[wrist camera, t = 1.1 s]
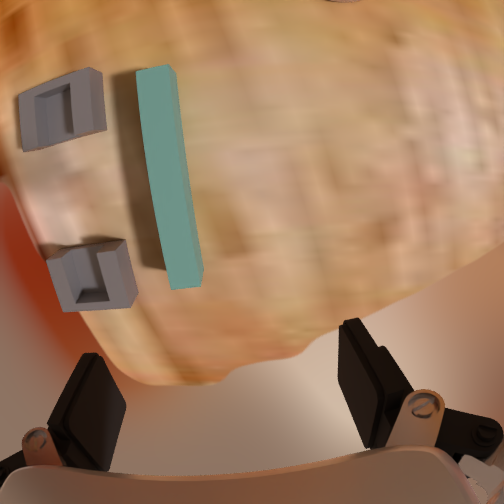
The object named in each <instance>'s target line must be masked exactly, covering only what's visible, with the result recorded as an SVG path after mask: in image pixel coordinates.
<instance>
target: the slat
mask: <svg viewBox="0 0 504 504" xmlns="http://www.w3.org/2000/svg"><path fill="white" fill-rule="evenodd" d="M136 81H137V92H138V102H139V111H140V120H141V128H142V136H143V143H144V150H145V157H146V164H147V170H148V177H149V183H150V189H151V195H152V200H153V206H154V211H155V217H156V222H157V227H158V232H159V237H160V242H161V247H162V252H163V256H164V261H165V265H166V270H167V274H168V279H169V283H170V287H171V290H175V289H183V288H192V287H201V282H202V277H203V271H204V267H203V262H202V256H201V250H200V245H199V239H198V233H197V227H196V221H195V214H194V208H193V202H192V195H191V188H190V182H189V175H188V168H187V161H186V153H185V146H184V138H183V130H182V122H181V114H180V105H179V96H178V87H177V77H176V73H175V72H174V70H173V69H172V68H171V67H170V66H169V64H167V65H162V66H157V67H153V68H148V69H144V70H139V71H136Z"/></svg>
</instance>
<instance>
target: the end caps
mask: <svg viewBox="0 0 504 504" xmlns="http://www.w3.org/2000/svg"><path fill="white" fill-rule="evenodd" d="M19 115H20V128H21V139H22V148H23V152H29V151H35V150H41V149H44V148H47V147H50V146H53V145H56V144H59V143H63V142H66V141H69V140H73V139H76V138H80V137H83V136H87V135H91V134H94V133H98V132H102V131H106V130H107V125H106V115H105V105H104V92H103V77H102V73H101V72H99V71H97V70H95V69H93V68H90V67H87V68H84V69H81V70H78V71H75V72H73V73H70V74H67V75H64V76H62V77H59V78H56V79H54V80H51V81H49V82H46V83H44V84H41V85H39V86H37V87H34V88H32V89H30V90H28V91H25V92H23V93H21V94H19ZM46 263H47V266H48V269H49V272H50V275H51V278H52V282H53V285H54V288H55V290H56V293H57V296H58V299H59V302H60V304H61V307H62V310H63V312H75V311H92V310H107V309H121V308H131V306H132V304H133V302H134V300H135V298H136V297H137V295H138V289H137V285H136V281H135V277H134V274H133V270H132V265H131V261H130V257H129V253H128V249H127V244H126V240H119V241H112V242H105V243H98V244H91V245H85V246H78V247H72V248H65V249H60V250H58V251H57V252H56V253H54V254H53V255H52V256H51V257H49V258H48V259H47V260H46Z"/></svg>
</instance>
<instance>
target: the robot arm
mask: <svg viewBox="0 0 504 504" xmlns="http://www.w3.org/2000/svg"><path fill="white" fill-rule="evenodd" d="M330 1H336V2H355V1H360V0H330ZM338 350H339V351H338V382H339V385H340V388H341V390H342V392H343V395H344V397H345V400H346V402H347V405H348V407H349V410H350V412H351V415H352V417H353V420H354V422H355V424H356V427H357V430H358V432H359V435H360V437H361V440H362V442H363V445H364V447H365V448H366V449H367V448H370V450H367V451H363V452H359V453H354V454H349V455H345V456H341V457H336V458H332V459H327V460H322V461H318V462H312V463H307V464H301V465H296V466H290V467H284V468H278V469H271V470H263V471H255V472H245V473H234V474H220V475H200V476H158V475H137V474H122V473H111V472H107V471H109V469H110V465H111V461H112V457H113V454H114V450H115V446H116V442H117V439H118V435H119V432H120V428H121V425H122V421H123V418H124V414H125V411H126V402H125V400H124V398H123V396H122V394H121V393H120V391H119V389H118V387H117V385H116V383H115V381H114V379H113V377H112V376H111V374H110V372H109V370H108V368H107V366H106V364H105V361H104V359H103V358H102V357H101V356H99V355H98V354H97V353H84V354H83V355H82V356H81V358H80V360H79V362H78V363H77V365H76V367H75V369H74V371H73V373H72V374H71V376H70V378H69V380H68V382H67V384H66V386H65V388H64V390H63V392H62V394H61V395H60V397H59V399H58V402H57V404H56V405H55V407H54V410H53V412H52V414H51V416H50V418H49V420H48V422H47V424H48V426H49V427H48V429H45V428H43V427H36V428H33V429H31V430H29V431H28V432H27V433H26V434H25V435H24V437H23V439H22V450H21V451H19V452H17V453H15V454H13V455H12V456H10V457H8V458H6V459H4V460H3V461H1V462H0V504H481V503H480V501H479V499H478V497H477V496H476V494H475V492H474V490H473V488H472V486H471V484H470V482H469V481H468V479H467V478H473V479H474V480H476V481H477V483H476V484H477V485H479V486H481V487H482V488H483V489H484V490H485V491H486V493H487V495H488V500H487V503H486V504H504V434H503V430H502V427H501V426H500V424H499V423H498V422H497V421H495V420H493V419H491V418H487V417H482V416H478V415H473V414H469V413H465V412H460V411H456V410H452V409H448V408H445V403H444V400H443V398H442V397H441V396H440V395H439V394H438V393H436V392H434V391H431V390H426V389H421V390H416V391H414V389H413V388H412V386H411V385H410V383H409V382H408V380H407V379H406V377H405V376H404V374H403V372H402V371H401V370H400V368H399V366H398V365H397V363H396V362H395V360H394V359H393V357H392V356H391V354H390V353H389V351H388V350H387V348H386V347H385V346H380V347H378V346H377V345H376V343H375V341H374V340H373V338H372V337H371V335H370V334H369V332H368V331H367V329H366V328H365V326H364V325H363V323H362V322H361V320H360V319H359V318H353V319H349V320H344V322H343V325H340V326H339V349H338Z"/></svg>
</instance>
